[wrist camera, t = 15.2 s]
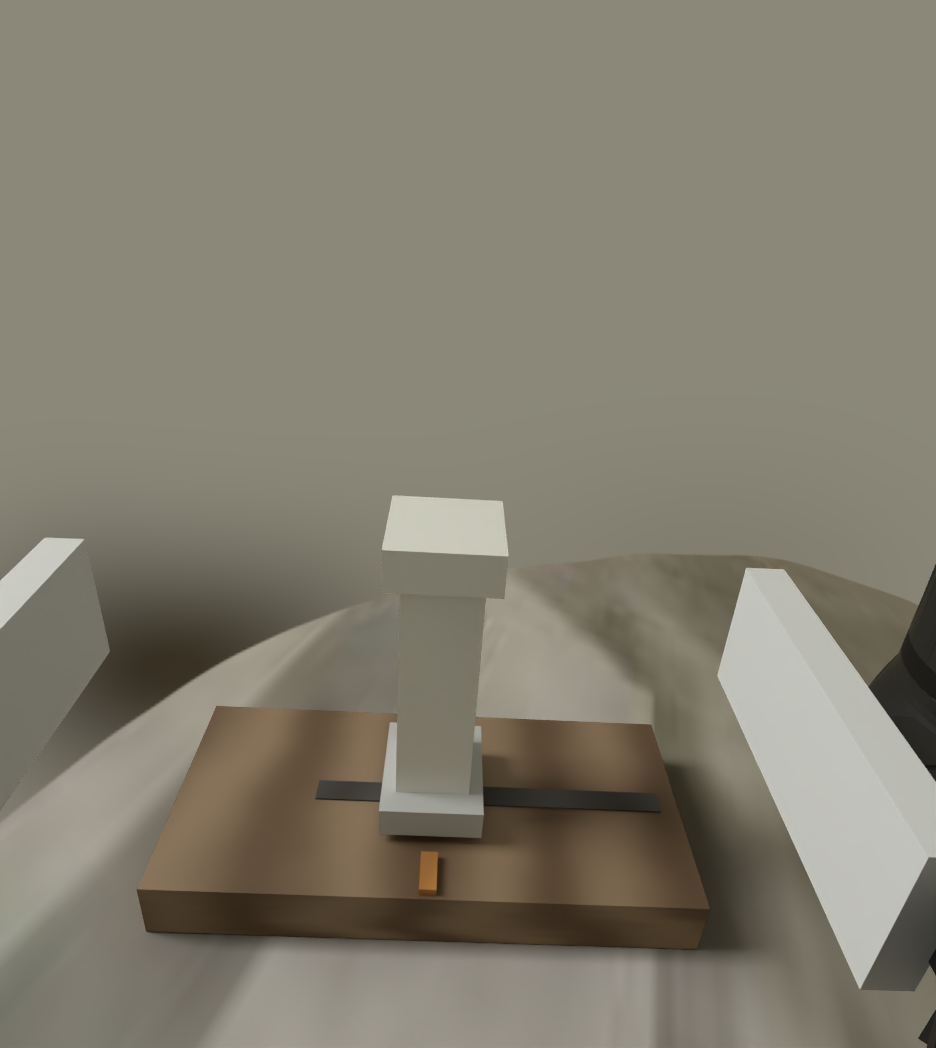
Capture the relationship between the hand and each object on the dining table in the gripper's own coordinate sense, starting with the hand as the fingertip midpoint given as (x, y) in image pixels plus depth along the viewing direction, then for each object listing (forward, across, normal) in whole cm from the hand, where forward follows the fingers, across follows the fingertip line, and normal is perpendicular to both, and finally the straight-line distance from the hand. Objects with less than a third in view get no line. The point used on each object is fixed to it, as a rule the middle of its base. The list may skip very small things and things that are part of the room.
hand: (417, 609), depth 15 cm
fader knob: (+15, 0, -22) cm, 26 cm away
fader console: (+15, 0, -25) cm, 29 cm away
